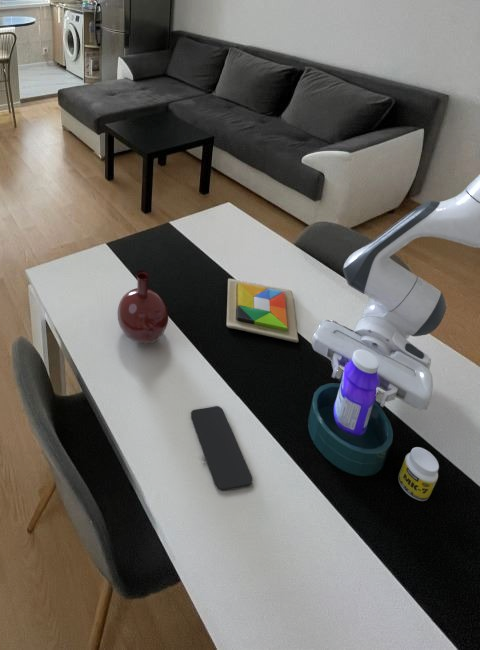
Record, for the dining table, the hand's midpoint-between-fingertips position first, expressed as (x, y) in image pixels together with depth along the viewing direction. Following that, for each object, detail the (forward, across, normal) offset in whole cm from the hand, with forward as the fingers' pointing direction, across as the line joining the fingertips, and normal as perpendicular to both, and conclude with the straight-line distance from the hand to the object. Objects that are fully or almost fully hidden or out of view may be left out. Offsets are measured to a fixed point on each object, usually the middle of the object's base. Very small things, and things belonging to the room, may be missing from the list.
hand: (357, 389), depth 82 cm
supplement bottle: (0, +12, +16) cm, 19 cm away
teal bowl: (-1, 0, +15) cm, 15 cm away
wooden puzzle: (-21, -27, +16) cm, 37 cm away
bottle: (-1, 0, +10) cm, 10 cm away
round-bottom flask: (+7, -46, +16) cm, 49 cm away
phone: (+18, -17, +15) cm, 30 cm away
